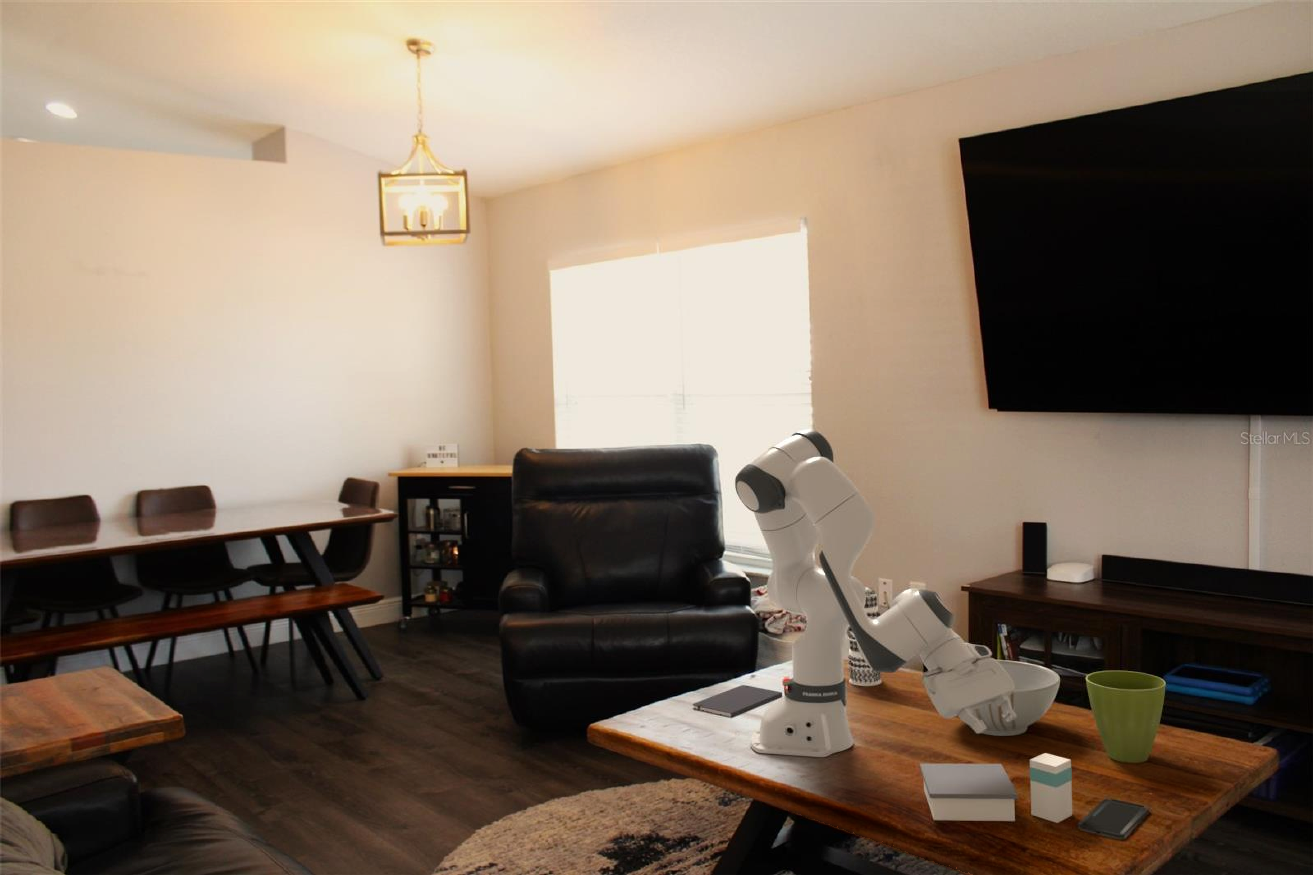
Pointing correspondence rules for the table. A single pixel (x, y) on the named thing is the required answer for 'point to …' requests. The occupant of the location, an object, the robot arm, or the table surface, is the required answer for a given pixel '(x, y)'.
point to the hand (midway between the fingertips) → (997, 725)
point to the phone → (1113, 818)
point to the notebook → (737, 700)
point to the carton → (1051, 787)
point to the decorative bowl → (1021, 699)
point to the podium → (969, 792)
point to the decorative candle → (858, 666)
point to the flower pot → (1126, 712)
